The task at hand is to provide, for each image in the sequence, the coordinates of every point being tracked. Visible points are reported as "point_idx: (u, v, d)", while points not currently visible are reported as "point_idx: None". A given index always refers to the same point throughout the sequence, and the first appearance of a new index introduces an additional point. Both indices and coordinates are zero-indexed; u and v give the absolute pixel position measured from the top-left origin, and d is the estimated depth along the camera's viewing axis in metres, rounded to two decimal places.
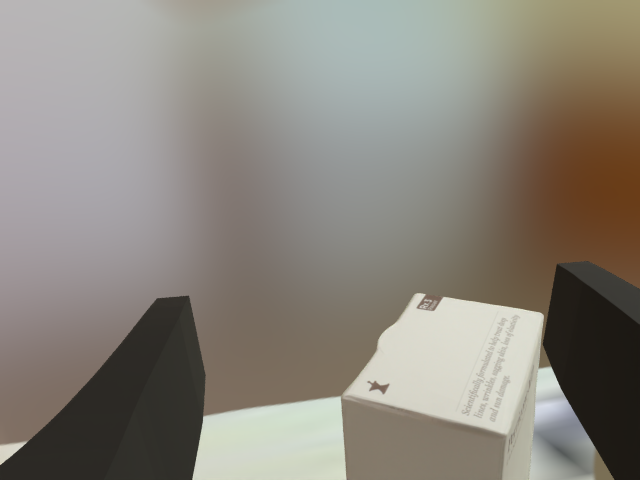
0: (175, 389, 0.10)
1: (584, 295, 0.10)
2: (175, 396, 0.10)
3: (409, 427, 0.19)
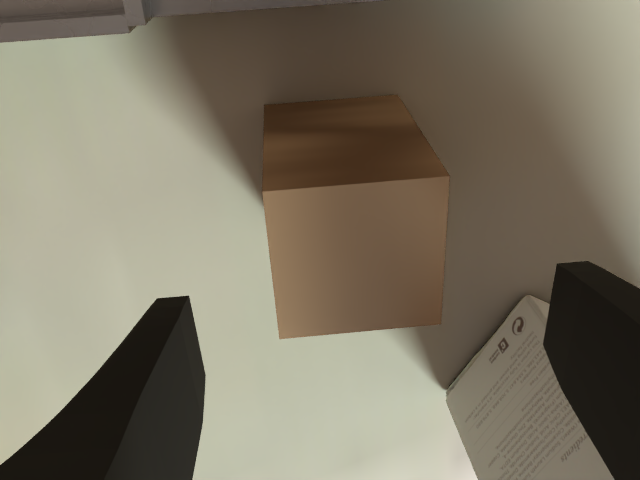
0: (175, 389, 0.10)
1: (584, 295, 0.10)
2: (174, 396, 0.10)
3: None
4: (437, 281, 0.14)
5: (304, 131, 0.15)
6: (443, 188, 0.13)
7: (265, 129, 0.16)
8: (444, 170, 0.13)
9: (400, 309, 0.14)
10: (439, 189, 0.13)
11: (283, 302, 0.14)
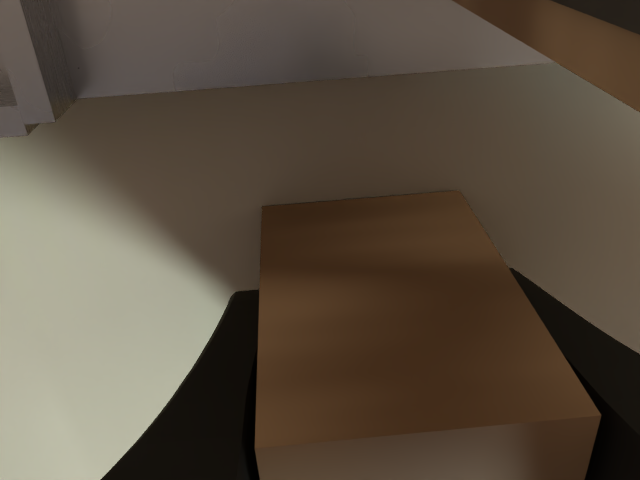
0: None
1: None
2: None
3: None
4: None
5: (324, 271, 0.10)
6: (586, 432, 0.07)
7: (262, 265, 0.10)
8: (586, 397, 0.07)
9: None
10: (578, 434, 0.07)
11: None
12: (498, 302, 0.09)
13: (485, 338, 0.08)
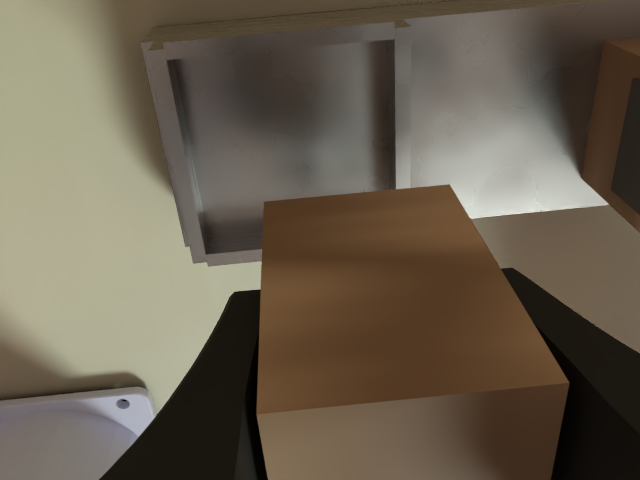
0: None
1: None
2: None
3: None
4: None
5: (321, 260, 0.10)
6: (556, 399, 0.08)
7: (264, 255, 0.11)
8: (556, 367, 0.08)
9: None
10: (549, 400, 0.08)
11: None
12: (481, 285, 0.09)
13: (467, 317, 0.09)
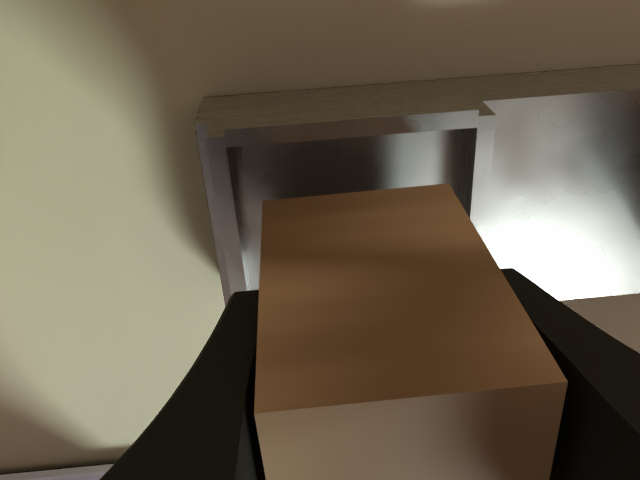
0: None
1: None
2: None
3: None
4: None
5: (320, 259, 0.10)
6: (555, 398, 0.08)
7: (263, 254, 0.11)
8: (555, 366, 0.08)
9: None
10: (548, 399, 0.08)
11: None
12: (480, 284, 0.09)
13: (466, 316, 0.09)
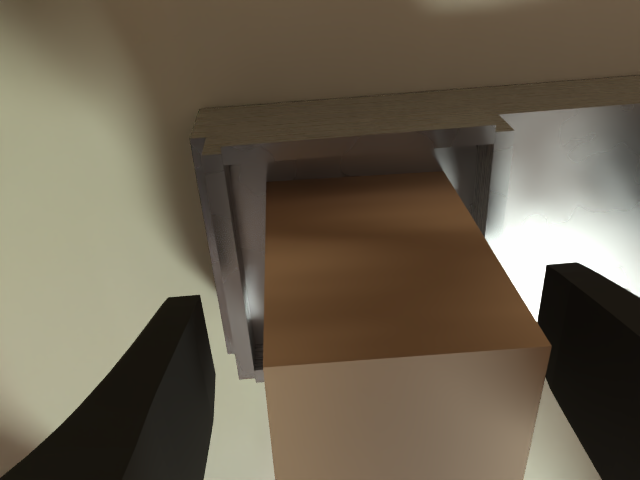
0: (188, 388, 0.10)
1: (572, 296, 0.10)
2: (187, 394, 0.10)
3: None
4: (515, 475, 0.10)
5: (322, 235, 0.11)
6: (539, 361, 0.08)
7: (267, 229, 0.11)
8: (540, 332, 0.08)
9: None
10: (533, 362, 0.08)
11: None
12: (472, 261, 0.10)
13: (459, 288, 0.09)
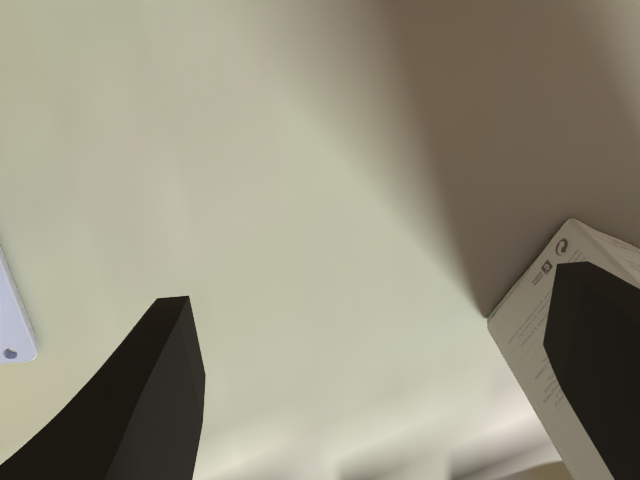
0: (175, 389, 0.10)
1: (584, 295, 0.10)
2: (175, 396, 0.10)
3: None
4: None
5: None
6: None
7: None
8: None
9: None
10: None
11: None
12: None
13: None
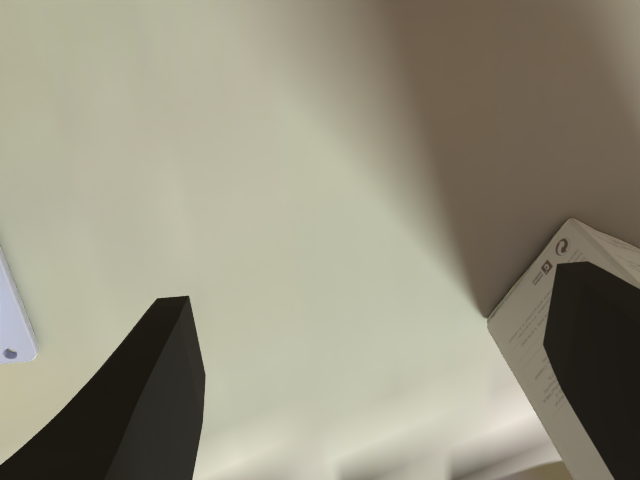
0: (175, 389, 0.10)
1: (584, 295, 0.10)
2: (175, 396, 0.10)
3: None
4: None
5: None
6: None
7: None
8: None
9: None
10: None
11: None
12: None
13: None
